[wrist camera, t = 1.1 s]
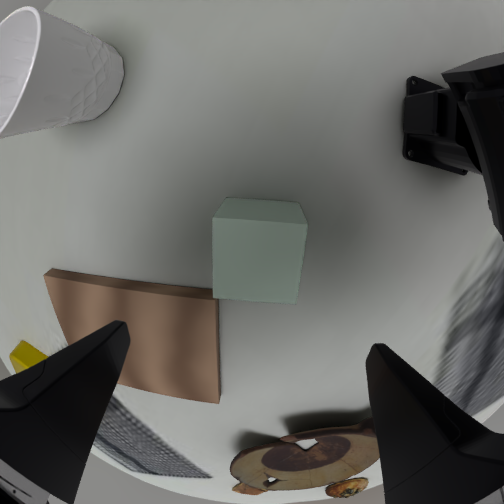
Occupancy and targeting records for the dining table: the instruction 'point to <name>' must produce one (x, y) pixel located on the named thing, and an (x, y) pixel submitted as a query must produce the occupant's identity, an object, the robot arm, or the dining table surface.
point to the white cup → (52, 73)
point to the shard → (248, 489)
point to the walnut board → (147, 330)
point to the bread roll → (347, 488)
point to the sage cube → (258, 250)
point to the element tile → (25, 356)
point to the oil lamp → (309, 458)
